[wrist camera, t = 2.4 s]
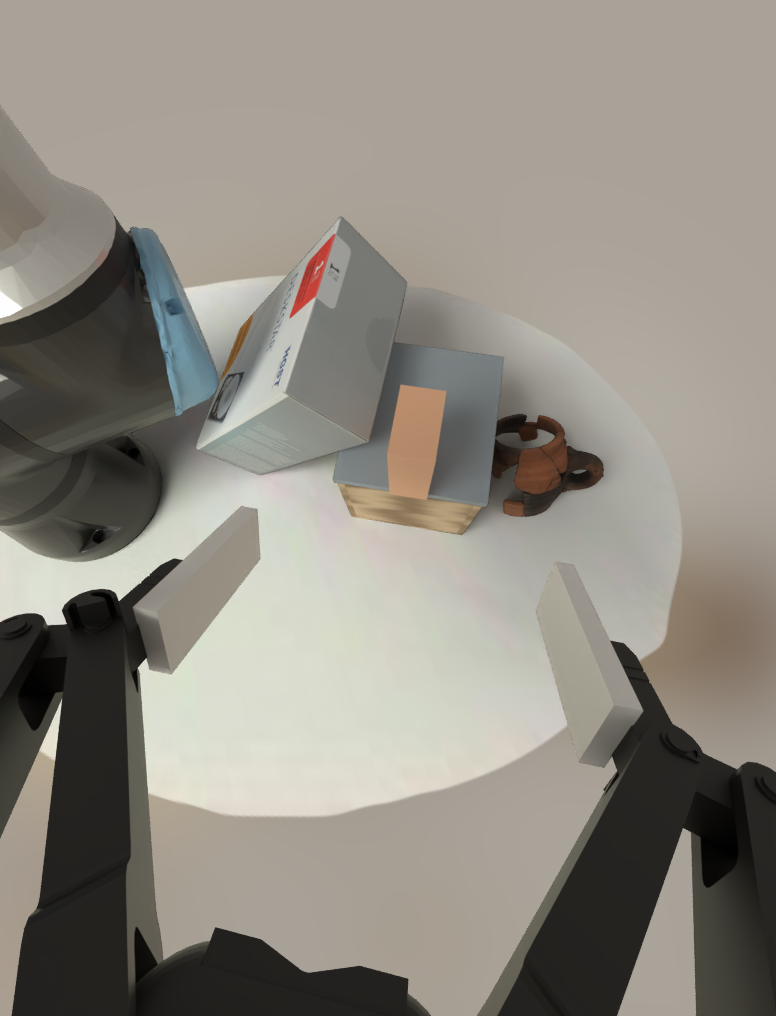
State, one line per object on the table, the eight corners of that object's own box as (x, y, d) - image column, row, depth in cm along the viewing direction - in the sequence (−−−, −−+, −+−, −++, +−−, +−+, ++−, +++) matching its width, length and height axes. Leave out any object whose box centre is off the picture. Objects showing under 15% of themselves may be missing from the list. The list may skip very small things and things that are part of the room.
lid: (332, 488, 32) (310, 442, 24) (366, 344, 36) (357, 264, 28) (485, 512, 31) (515, 474, 23) (501, 362, 35) (532, 285, 27)
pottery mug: (475, 519, 42) (473, 458, 36) (484, 465, 48) (484, 406, 42) (598, 529, 38) (618, 462, 32) (590, 469, 44) (606, 405, 39)
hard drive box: (238, 325, 43) (342, 209, 28) (297, 364, 47) (412, 282, 33) (191, 450, 38) (285, 390, 24) (261, 479, 43) (375, 444, 28)
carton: (351, 516, 41) (337, 483, 32) (375, 405, 45) (369, 346, 36) (461, 534, 40) (481, 507, 31) (476, 419, 44) (497, 363, 35)
